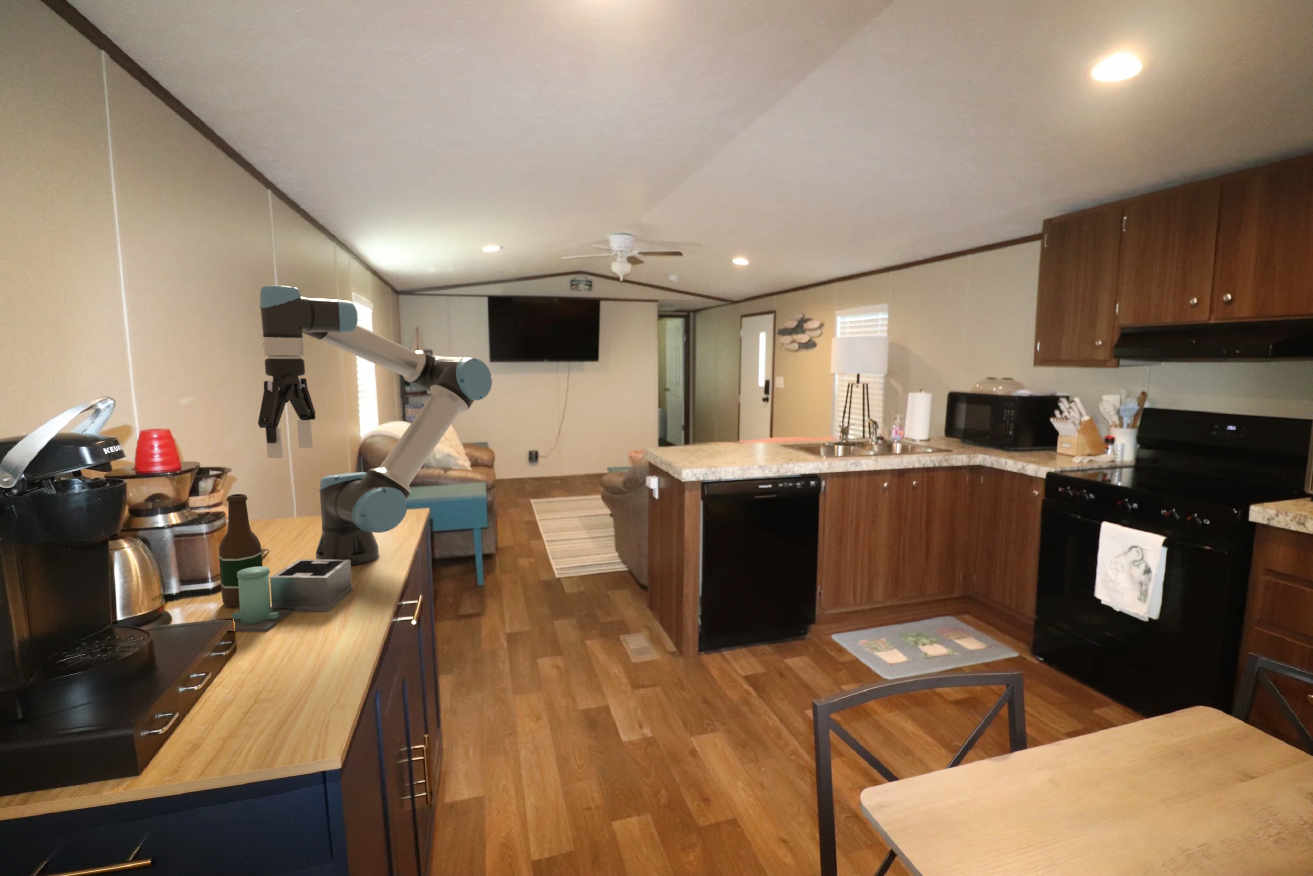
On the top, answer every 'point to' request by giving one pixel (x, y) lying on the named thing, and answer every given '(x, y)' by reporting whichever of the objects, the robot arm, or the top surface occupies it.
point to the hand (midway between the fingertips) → (291, 452)
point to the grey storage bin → (311, 585)
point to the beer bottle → (237, 549)
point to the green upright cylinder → (254, 596)
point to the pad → (262, 625)
